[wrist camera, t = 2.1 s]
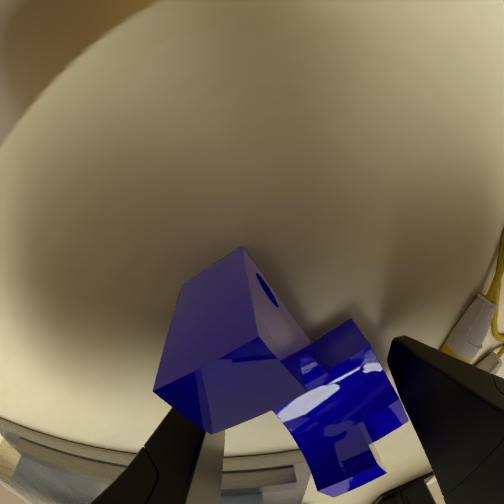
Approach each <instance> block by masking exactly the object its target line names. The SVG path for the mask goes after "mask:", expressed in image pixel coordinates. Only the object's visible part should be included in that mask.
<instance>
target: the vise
mask: <svg viewBox="0 0 504 504" xmlns="http://www.w3.org/2000/svg"><path fill="white" fill-rule="evenodd" d="M0 434H1V435H2V436H3V437H4V438H3V440H2V442H1V444H0V484H2V485H3V486H4V487H5V488H7V489H8V490H9V491H10V492H12V493H13V494H14V495H15V496H17V497H18V498H20V499H21V500H22V501H24V502H25V503H27V504H90V503H91V502H92V501H93V500H94V499H95V498H96V497H97V496H98V495H99V494H100V493H102V492H103V491H104V490H105V489H106V488H107V487H108V486H109V485H110V484H111V483H112V482H113V481H114V480H115V479H116V478H117V477H118V476H119V475H120V474H121V473H122V472H123V471H124V470H125V468H126V467H127V466H128V465H129V464H130V462H131V461H132V460H133V459H134V457H135V456H136V455H137V454H131V453H124V452H117V451H111V450H106V449H100V448H95V447H90V446H86V445H81V444H77V443H73V442H69V441H65V440H62V439H58V438H55V437H51V436H48V435H45V434H42V433H39V432H36V431H33V430H30V429H27V428H24V427H22V426H19V425H16V424H14V423H11V422H9V421H7V420H4V419H2V418H0ZM310 474H311V471H310V469H309V466H308V464H307V462H306V460H305V458H304V456H303V454H302V452H301V450H296V451H290V452H283V453H276V454H267V455H258V456H246V457H229V458H223V469H222V483H221V496H232V495H249V494H261V493H262V495H263V503H264V504H301V502H302V499H303V496H304V493H305V490H306V487H307V484H308V481H309V477H310Z"/></svg>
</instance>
